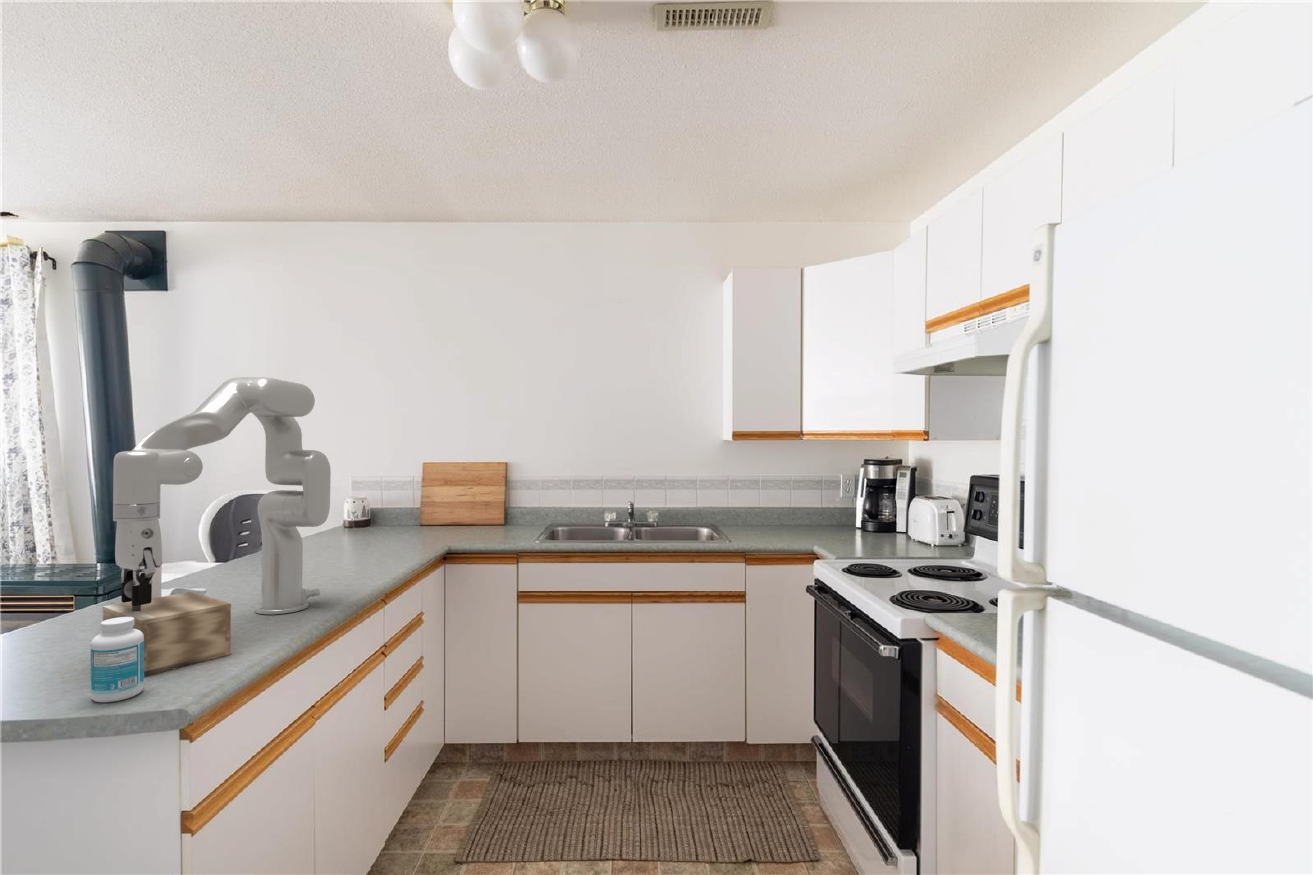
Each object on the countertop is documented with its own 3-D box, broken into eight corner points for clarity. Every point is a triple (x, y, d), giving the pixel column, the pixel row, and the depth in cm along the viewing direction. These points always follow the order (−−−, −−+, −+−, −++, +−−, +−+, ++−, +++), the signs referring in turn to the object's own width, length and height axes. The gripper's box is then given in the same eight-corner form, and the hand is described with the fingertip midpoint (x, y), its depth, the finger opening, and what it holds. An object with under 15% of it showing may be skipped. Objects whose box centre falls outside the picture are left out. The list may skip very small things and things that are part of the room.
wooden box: (190, 640, 151) (190, 595, 151) (230, 654, 141) (230, 607, 141) (102, 659, 137) (103, 611, 137) (140, 677, 128) (140, 625, 128)
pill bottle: (110, 688, 122) (111, 614, 122) (153, 687, 123) (154, 614, 123) (79, 704, 115) (79, 626, 115) (124, 703, 115) (125, 625, 115)
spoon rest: (161, 602, 185) (161, 576, 185) (211, 598, 189) (211, 573, 189) (130, 625, 163) (130, 595, 163) (187, 620, 167) (188, 592, 167)
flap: (190, 595, 151) (190, 563, 151) (231, 607, 141) (231, 572, 141) (102, 610, 137) (102, 575, 137) (141, 625, 128) (141, 586, 128)
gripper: (177, 513, 133) (176, 605, 133) (141, 507, 142) (140, 593, 142) (132, 517, 127) (131, 613, 127) (97, 511, 136) (96, 600, 136)
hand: (136, 601), depth 135 cm, fingers closed on flap, 4 cm apart
